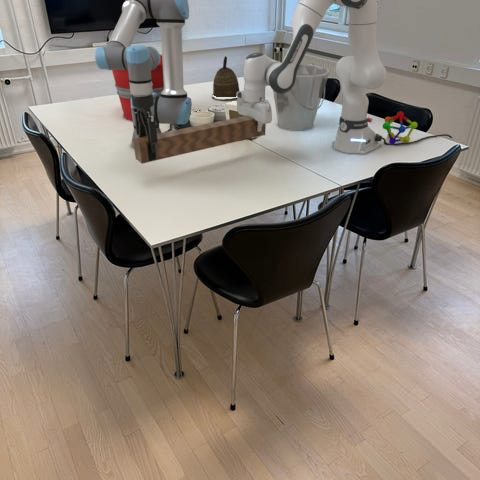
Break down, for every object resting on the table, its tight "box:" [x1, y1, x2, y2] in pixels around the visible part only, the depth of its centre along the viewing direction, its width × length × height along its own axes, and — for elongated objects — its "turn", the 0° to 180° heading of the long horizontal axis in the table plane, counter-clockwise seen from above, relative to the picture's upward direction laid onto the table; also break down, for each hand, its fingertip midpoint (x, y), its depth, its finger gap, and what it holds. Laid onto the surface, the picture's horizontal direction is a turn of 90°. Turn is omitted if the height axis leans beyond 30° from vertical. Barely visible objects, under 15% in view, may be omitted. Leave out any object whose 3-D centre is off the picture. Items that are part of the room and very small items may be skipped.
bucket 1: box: [111, 54, 164, 122], centre depth 239 cm, size 35×35×30 cm
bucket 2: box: [272, 63, 330, 131], centre depth 226 cm, size 30×30×28 cm
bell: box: [212, 56, 240, 97], centre depth 278 cm, size 19×26×20 cm
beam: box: [133, 115, 267, 165], centre depth 176 cm, size 57×6×8 cm, turn 125°
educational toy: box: [382, 110, 418, 144], centre depth 207 cm, size 16×13×15 cm
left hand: (149, 157), depth 166 cm, fingers closed on beam, 6 cm apart
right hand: (253, 128), depth 189 cm, fingers closed on beam, 5 cm apart
